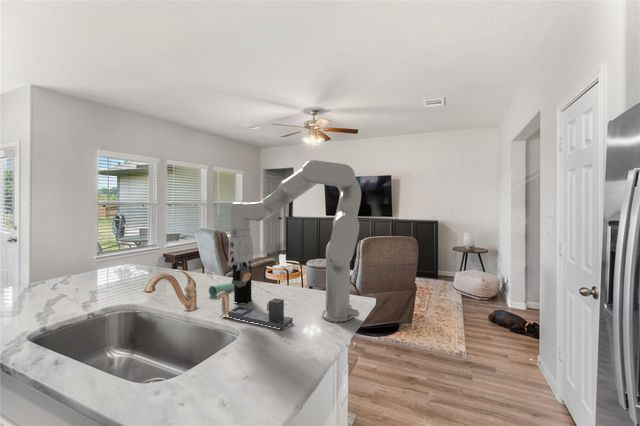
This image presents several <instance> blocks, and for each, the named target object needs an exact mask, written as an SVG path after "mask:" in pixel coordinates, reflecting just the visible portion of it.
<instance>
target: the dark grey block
mask: <svg viewBox="0 0 640 426" xmlns="http://www.w3.org/2000/svg"><path fill="white" fill-rule="evenodd" d="M239 271H240V281H235V280H233V279H231V280H232V281H231V283H232V284H234V285H235V286H237V287H239V288H240V287H242V286H245V285H246V283H247V281H248V280H249V279H250V276H251V277H252V272H251V273H250V269H248V268H247V267H245V266H243V265H242V266H239Z"/></svg>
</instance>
